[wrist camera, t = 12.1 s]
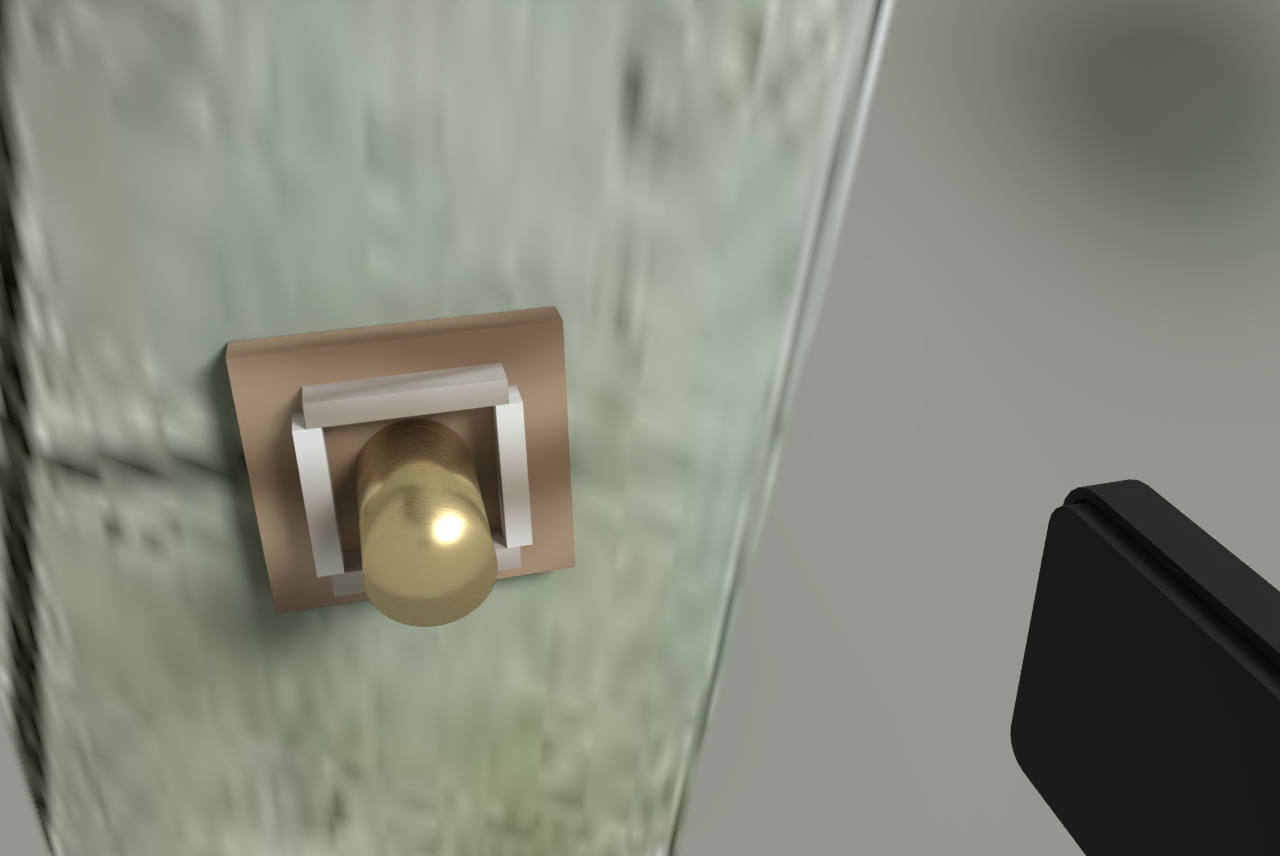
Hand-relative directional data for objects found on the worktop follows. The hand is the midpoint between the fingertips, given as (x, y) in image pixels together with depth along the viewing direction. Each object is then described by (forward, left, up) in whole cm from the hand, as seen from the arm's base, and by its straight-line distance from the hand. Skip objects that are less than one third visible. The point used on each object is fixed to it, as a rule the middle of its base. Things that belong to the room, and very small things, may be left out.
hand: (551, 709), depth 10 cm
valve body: (+15, 0, -32) cm, 36 cm away
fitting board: (+15, 0, -34) cm, 37 cm away
